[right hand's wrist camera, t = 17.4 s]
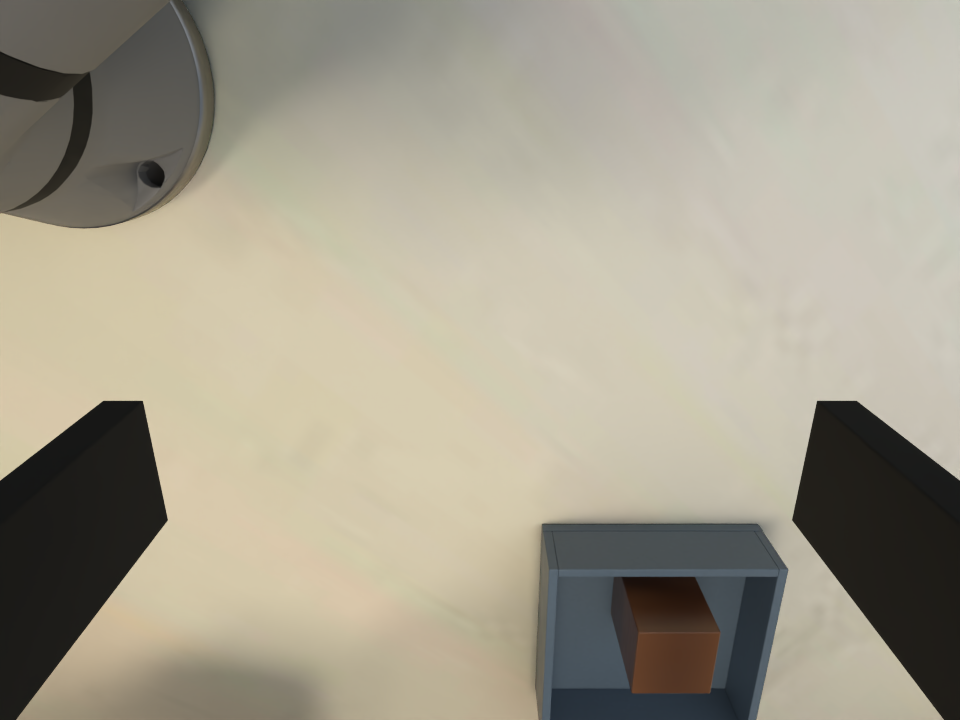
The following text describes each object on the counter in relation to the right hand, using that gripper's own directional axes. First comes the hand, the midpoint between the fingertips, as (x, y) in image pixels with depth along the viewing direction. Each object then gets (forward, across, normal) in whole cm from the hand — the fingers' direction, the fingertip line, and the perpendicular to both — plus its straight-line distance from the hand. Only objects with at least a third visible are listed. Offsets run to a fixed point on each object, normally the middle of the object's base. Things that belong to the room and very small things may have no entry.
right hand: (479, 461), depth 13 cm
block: (+26, +12, -25) cm, 38 cm away
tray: (+27, +12, -33) cm, 44 cm away
